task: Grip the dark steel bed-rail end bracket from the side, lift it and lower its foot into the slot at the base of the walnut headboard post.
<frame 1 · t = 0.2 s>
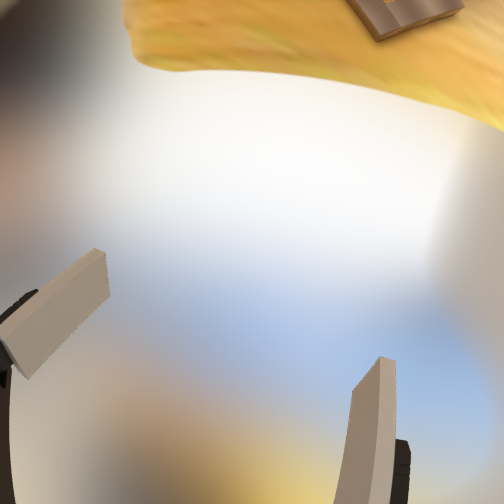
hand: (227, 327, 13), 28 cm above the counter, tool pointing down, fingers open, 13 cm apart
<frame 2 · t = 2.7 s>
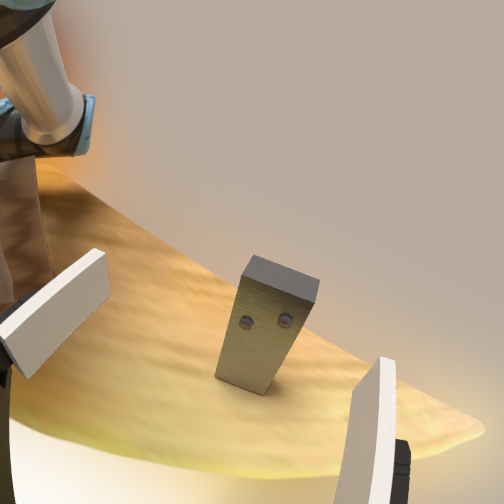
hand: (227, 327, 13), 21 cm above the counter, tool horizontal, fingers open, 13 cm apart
bracket: (242, 376, 33), on the counter
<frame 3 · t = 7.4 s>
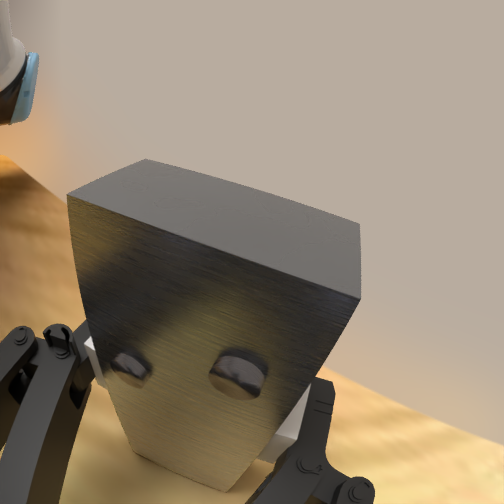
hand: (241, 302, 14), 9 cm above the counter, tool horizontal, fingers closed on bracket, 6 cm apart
bracket: (188, 454, 15), on the counter, touching gripper
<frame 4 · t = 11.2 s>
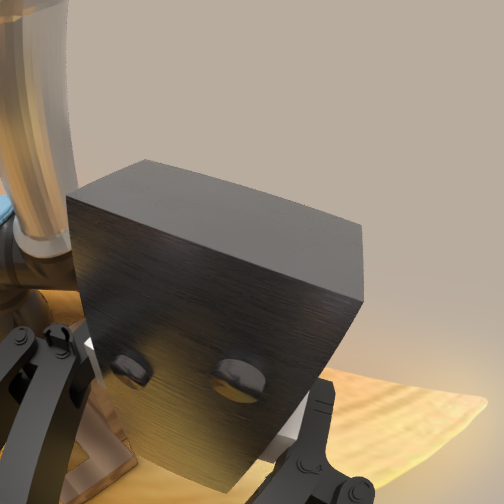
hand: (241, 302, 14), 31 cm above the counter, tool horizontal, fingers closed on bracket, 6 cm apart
headboard post: (68, 453, 27), on the counter
bracket: (188, 455, 15), point 22 cm above the counter, touching gripper
when the fingers open (10 cm above the counter, at t = 15.3 s): bracket drops 1 cm, resting in headboard post.
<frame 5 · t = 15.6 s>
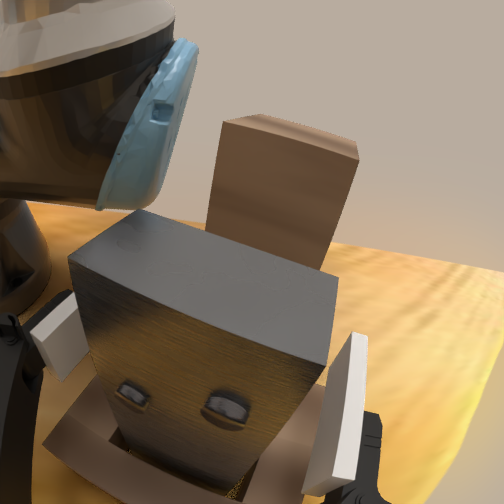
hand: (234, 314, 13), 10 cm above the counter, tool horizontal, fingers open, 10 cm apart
headboard post: (187, 460, 16), on the counter
bracket: (186, 463, 15), resting in headboard post
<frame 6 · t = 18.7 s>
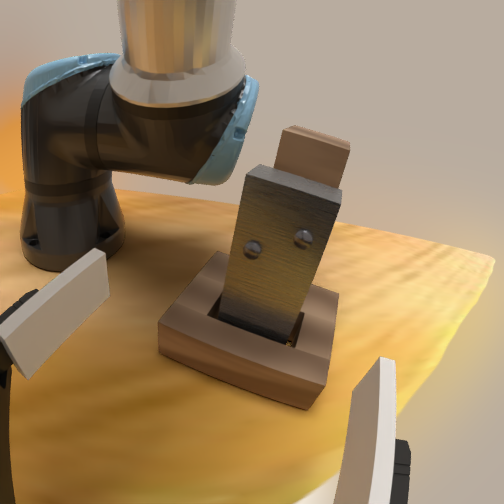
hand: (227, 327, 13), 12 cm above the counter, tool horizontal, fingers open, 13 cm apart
headboard post: (249, 344, 27), on the counter
bracket: (248, 345, 27), resting in headboard post
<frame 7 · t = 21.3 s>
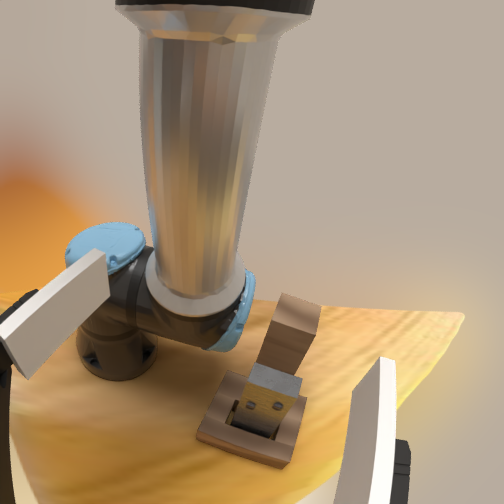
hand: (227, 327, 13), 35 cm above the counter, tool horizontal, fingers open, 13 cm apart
headboard post: (249, 429, 41), on the counter
bracket: (248, 430, 41), resting in headboard post
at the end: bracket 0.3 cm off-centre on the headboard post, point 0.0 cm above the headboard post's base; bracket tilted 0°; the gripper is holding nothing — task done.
